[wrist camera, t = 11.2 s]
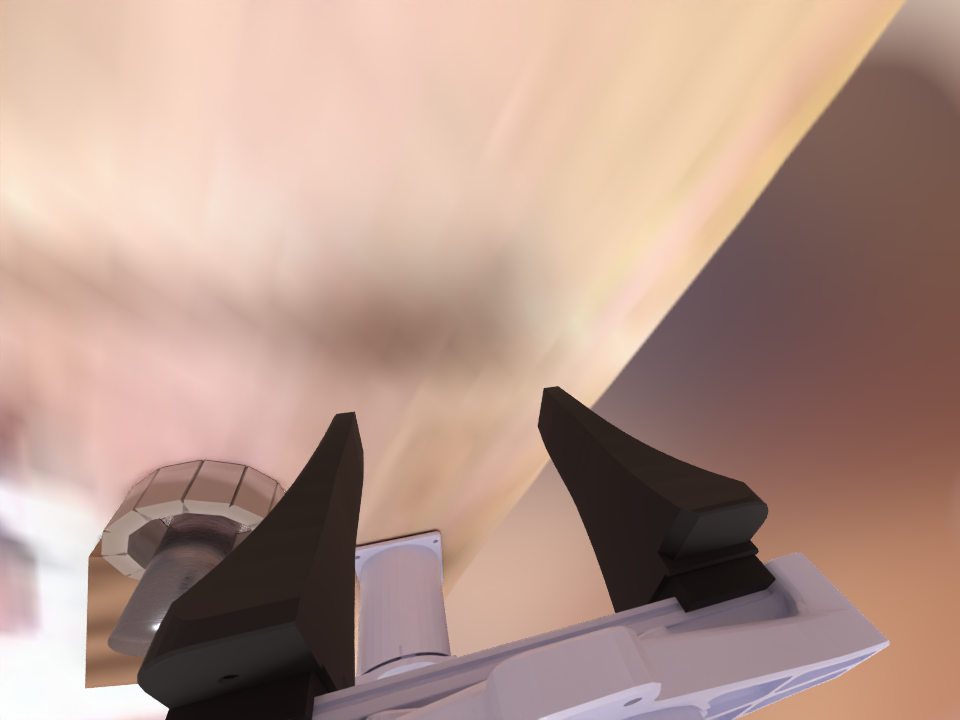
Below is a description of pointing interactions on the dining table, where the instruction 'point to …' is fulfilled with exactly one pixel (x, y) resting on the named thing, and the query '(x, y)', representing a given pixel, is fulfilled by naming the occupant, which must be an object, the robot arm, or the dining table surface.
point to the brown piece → (140, 534)
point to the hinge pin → (172, 576)
